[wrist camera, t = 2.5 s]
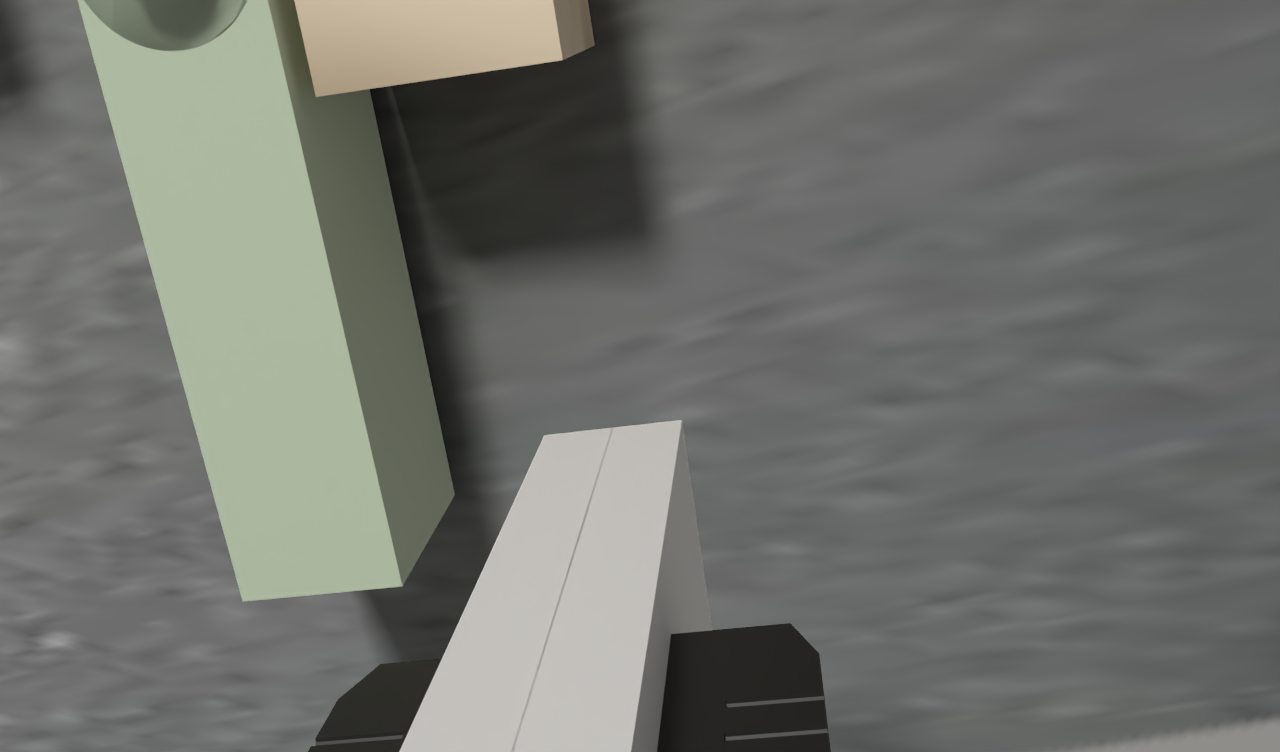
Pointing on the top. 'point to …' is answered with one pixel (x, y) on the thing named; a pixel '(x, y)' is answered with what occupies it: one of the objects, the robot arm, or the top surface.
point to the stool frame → (434, 38)
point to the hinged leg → (278, 291)
